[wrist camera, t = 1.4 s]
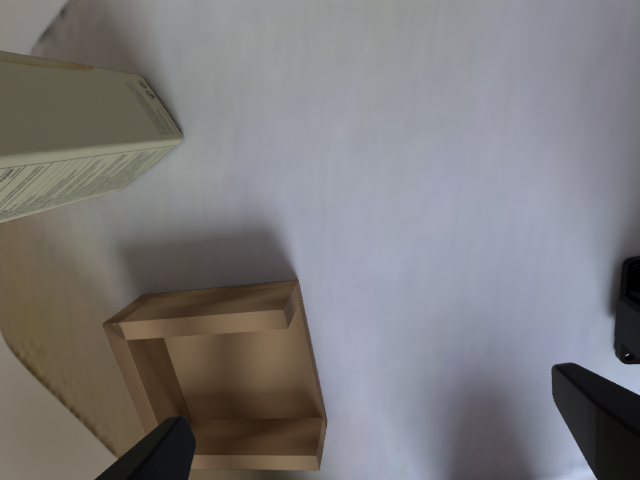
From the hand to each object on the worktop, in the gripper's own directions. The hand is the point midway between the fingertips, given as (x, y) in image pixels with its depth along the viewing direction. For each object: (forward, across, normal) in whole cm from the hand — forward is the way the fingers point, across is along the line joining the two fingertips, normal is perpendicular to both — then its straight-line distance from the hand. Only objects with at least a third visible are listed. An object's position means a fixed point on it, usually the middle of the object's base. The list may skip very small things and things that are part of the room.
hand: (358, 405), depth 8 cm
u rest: (+14, +10, +8) cm, 18 cm away
